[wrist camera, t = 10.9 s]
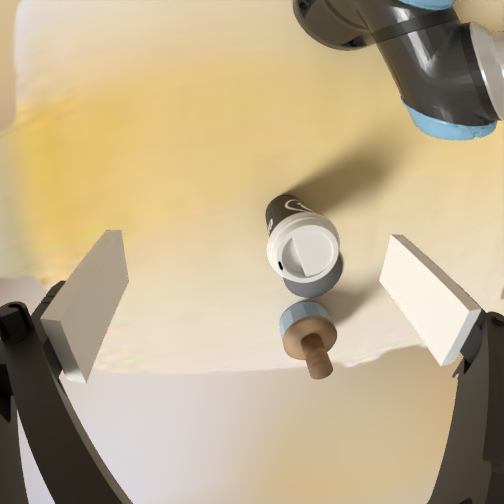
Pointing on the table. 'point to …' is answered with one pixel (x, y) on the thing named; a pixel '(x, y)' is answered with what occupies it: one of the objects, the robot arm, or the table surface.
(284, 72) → the table surface
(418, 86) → the robot arm
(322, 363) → the lid
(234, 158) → the table surface
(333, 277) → the mat
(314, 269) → the coffee cup
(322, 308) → the bowl
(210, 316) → the table surface
